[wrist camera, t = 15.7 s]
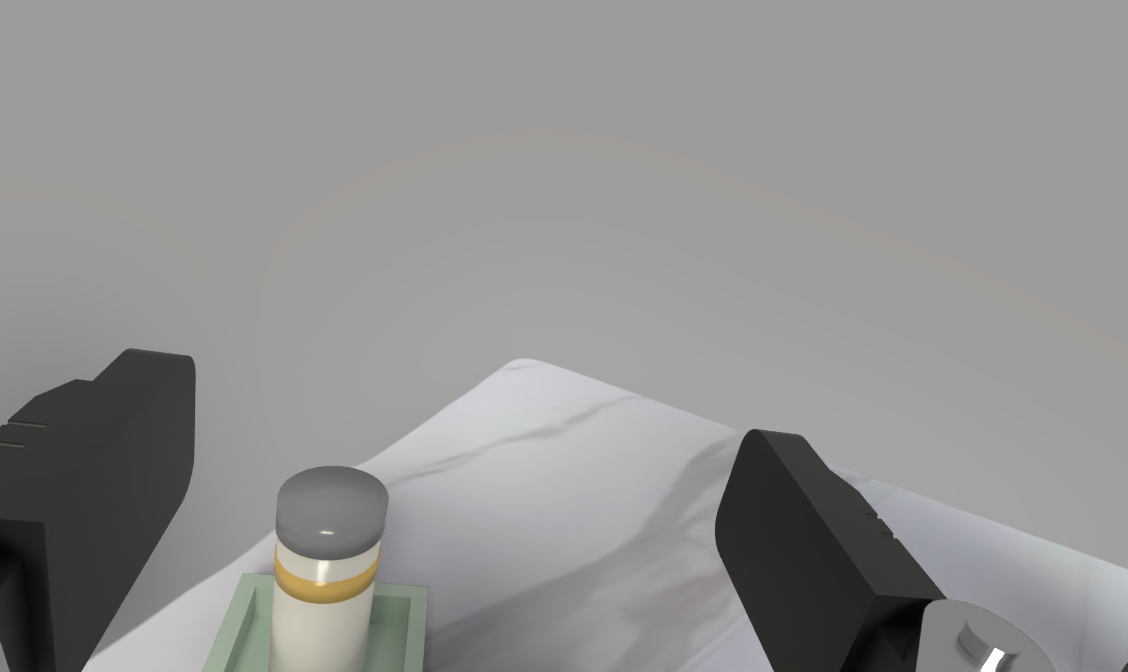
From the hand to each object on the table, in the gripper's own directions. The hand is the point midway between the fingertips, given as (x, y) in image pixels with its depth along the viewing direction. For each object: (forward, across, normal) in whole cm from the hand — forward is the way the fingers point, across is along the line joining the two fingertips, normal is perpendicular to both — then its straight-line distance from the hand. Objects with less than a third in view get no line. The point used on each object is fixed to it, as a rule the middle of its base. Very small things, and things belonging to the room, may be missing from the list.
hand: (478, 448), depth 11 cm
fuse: (+19, +4, +29) cm, 35 cm away
